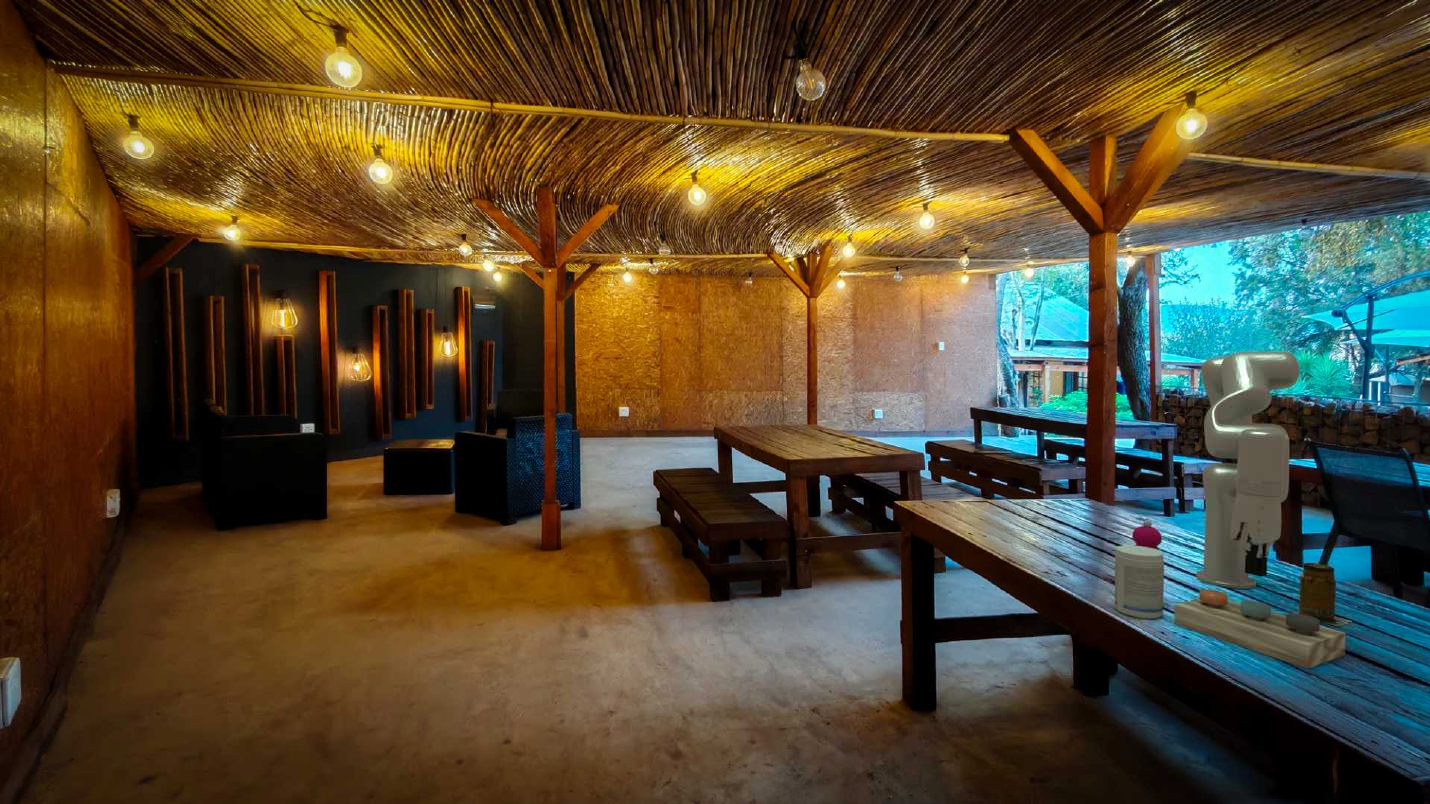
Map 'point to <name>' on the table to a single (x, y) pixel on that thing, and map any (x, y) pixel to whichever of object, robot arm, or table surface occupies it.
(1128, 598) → the supplement tub
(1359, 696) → the table surface
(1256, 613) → the button teal
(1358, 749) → the table surface
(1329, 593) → the condiment
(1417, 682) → the table surface
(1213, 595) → the button vermilion
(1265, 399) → the robot arm
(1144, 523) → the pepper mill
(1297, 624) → the button charcoal
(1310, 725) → the table surface
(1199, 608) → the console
